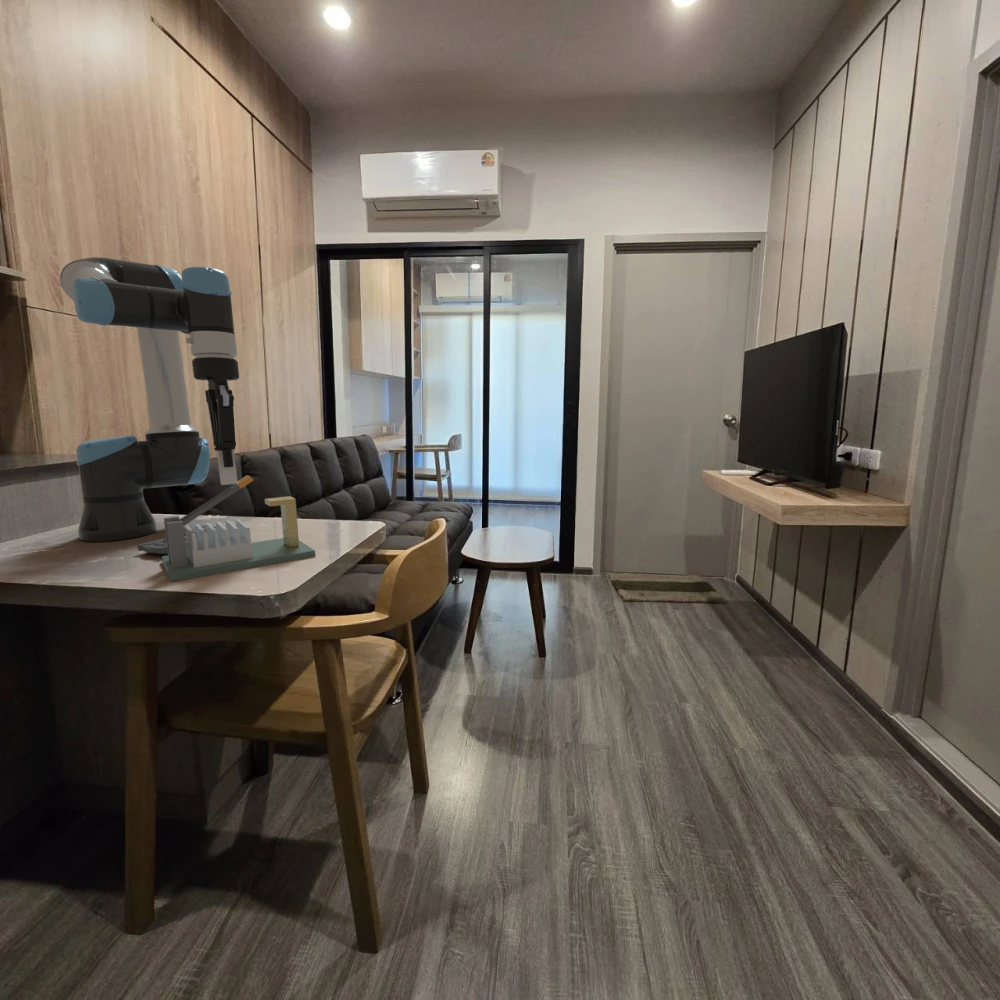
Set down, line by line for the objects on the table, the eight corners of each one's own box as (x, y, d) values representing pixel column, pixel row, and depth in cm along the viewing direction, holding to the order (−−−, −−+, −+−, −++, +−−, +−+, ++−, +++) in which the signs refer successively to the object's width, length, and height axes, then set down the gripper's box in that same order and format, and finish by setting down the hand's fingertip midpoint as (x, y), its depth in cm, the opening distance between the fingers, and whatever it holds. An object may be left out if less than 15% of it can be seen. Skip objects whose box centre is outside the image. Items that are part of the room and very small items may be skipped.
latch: (268, 545, 108) (264, 498, 107) (293, 542, 111) (289, 496, 110) (273, 549, 105) (269, 501, 104) (299, 545, 108) (295, 498, 107)
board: (162, 562, 102) (156, 514, 100) (293, 541, 117) (290, 500, 115) (170, 581, 90) (164, 528, 88) (315, 556, 105) (312, 510, 103)
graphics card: (203, 523, 123) (236, 527, 117) (205, 539, 124) (238, 543, 118) (126, 540, 108) (160, 545, 103) (129, 558, 109) (163, 563, 103)
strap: (172, 531, 97) (166, 525, 96) (250, 479, 104) (246, 474, 104) (174, 534, 95) (168, 528, 94) (254, 481, 102) (250, 475, 101)
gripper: (186, 360, 99) (201, 482, 103) (197, 353, 89) (213, 489, 93) (230, 362, 104) (242, 479, 107) (244, 355, 93) (258, 485, 97)
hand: (229, 483), depth 100 cm, fingers closed
